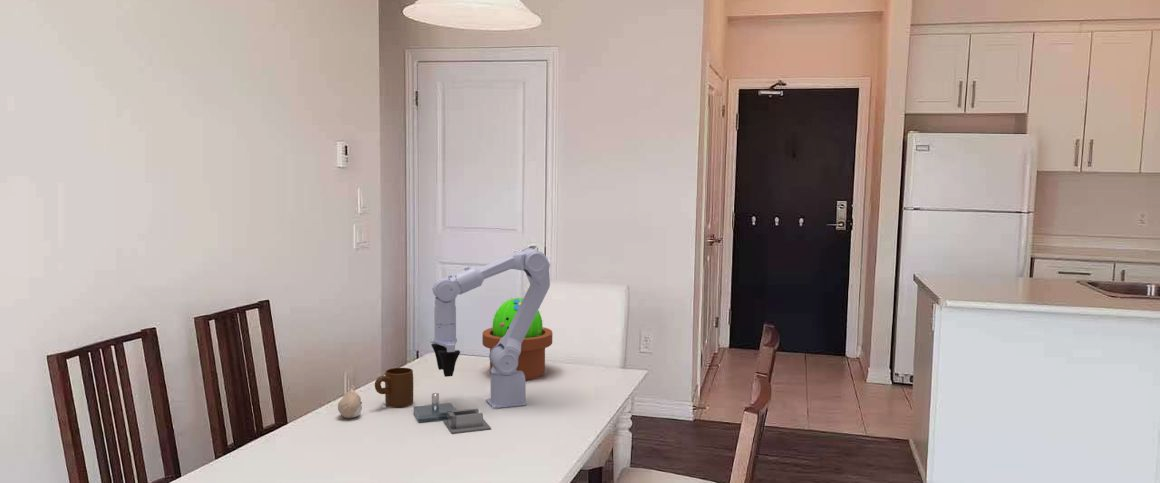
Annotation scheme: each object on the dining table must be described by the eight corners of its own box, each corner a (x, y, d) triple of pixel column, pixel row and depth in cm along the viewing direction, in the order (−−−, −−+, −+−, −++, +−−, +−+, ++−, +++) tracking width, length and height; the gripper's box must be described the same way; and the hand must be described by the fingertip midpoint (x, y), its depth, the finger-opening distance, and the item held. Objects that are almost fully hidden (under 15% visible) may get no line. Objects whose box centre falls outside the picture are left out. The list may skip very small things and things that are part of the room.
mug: (385, 413, 210) (384, 379, 209) (366, 408, 215) (366, 374, 214) (419, 403, 220) (419, 370, 219) (400, 398, 224) (400, 365, 223)
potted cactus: (492, 364, 264) (492, 289, 262) (557, 367, 261) (557, 292, 259) (474, 381, 243) (474, 300, 240) (545, 384, 240) (545, 303, 237)
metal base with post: (450, 410, 214) (450, 388, 213) (457, 418, 206) (457, 396, 206) (413, 413, 210) (413, 391, 210) (419, 423, 203) (418, 400, 202)
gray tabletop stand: (477, 419, 205) (477, 408, 205) (482, 425, 200) (482, 414, 200) (446, 422, 202) (446, 411, 202) (451, 429, 197) (451, 417, 197)
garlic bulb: (368, 415, 208) (367, 386, 208) (350, 422, 203) (350, 392, 202) (349, 411, 211) (349, 382, 211) (331, 418, 206) (331, 388, 205)
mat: (481, 417, 208) (481, 416, 208) (491, 429, 199) (491, 427, 198) (443, 421, 204) (443, 420, 204) (451, 433, 195) (451, 432, 195)
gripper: (425, 319, 218) (425, 367, 220) (435, 329, 205) (436, 380, 206) (450, 317, 221) (450, 365, 222) (462, 327, 208) (462, 378, 209)
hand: (445, 372), depth 214 cm, fingers open, 7 cm apart
